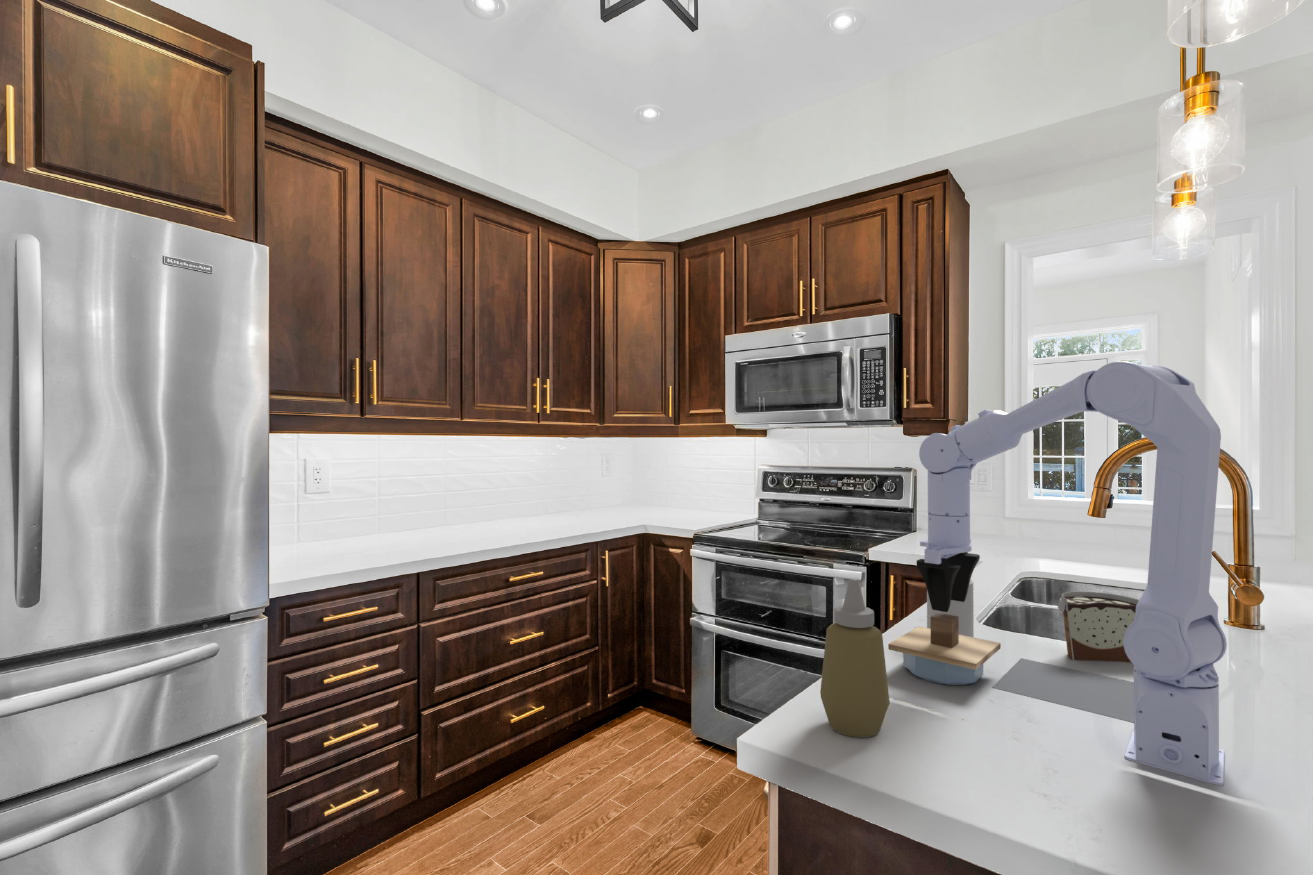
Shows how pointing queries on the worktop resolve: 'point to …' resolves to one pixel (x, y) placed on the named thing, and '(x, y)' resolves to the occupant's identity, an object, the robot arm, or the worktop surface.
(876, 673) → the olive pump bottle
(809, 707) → the worktop surface
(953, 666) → the bowl
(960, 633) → the can
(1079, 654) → the food container
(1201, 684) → the robot arm
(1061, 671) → the mat
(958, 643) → the lid
